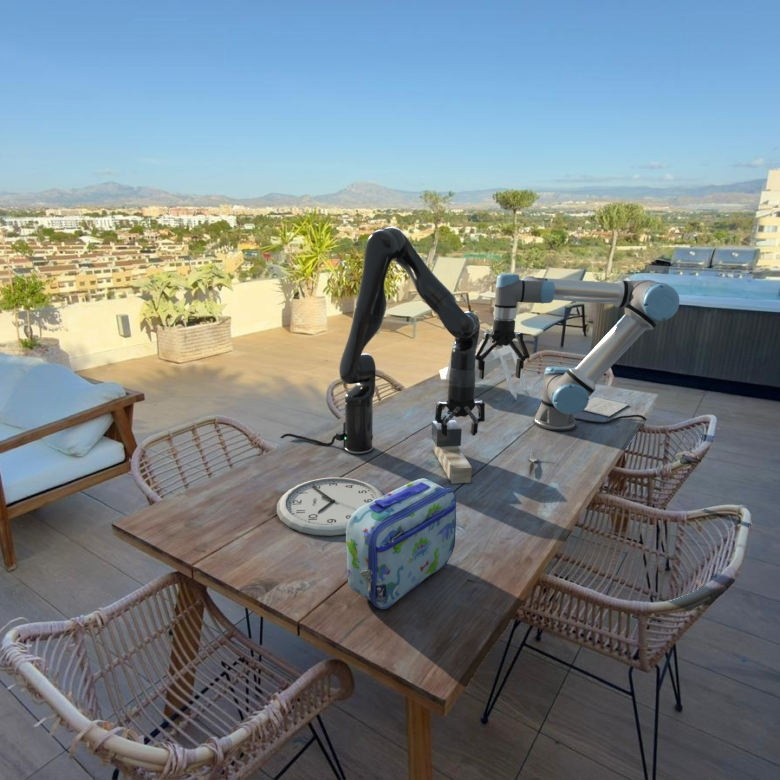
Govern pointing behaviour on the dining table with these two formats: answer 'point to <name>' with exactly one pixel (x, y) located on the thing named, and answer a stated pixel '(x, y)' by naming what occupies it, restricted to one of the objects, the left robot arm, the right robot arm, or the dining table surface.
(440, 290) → the left robot arm
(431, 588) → the dining table surface
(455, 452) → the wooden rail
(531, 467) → the fork
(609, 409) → the invitation card
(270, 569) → the dining table surface
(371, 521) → the lunch box
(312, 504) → the wall clock
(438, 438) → the slate block
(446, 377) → the white plastic object
